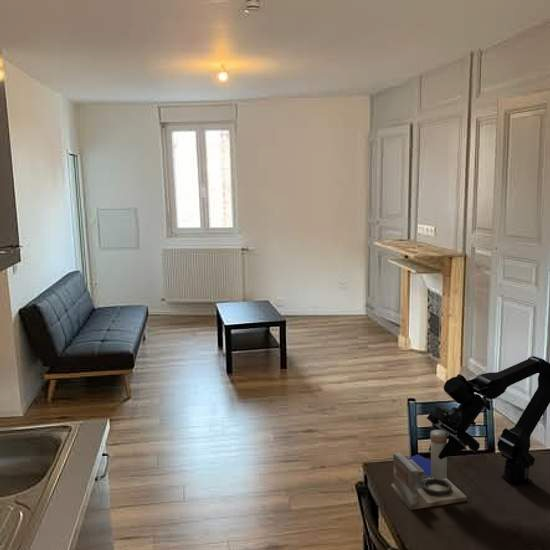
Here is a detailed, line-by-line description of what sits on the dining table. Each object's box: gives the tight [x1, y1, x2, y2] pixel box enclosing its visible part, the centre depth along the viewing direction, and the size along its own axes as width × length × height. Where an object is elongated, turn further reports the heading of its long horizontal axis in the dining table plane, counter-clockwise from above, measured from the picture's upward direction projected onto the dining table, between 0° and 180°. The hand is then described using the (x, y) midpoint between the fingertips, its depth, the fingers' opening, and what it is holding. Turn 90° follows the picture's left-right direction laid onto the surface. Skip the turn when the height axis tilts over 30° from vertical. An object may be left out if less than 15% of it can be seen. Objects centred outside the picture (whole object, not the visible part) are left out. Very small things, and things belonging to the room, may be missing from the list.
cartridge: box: [429, 429, 448, 479], centre depth 164 cm, size 5×5×13 cm
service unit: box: [391, 452, 468, 511], centre depth 167 cm, size 18×13×11 cm
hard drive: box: [406, 454, 433, 478], centre depth 184 cm, size 2×8×12 cm
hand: (434, 454), depth 164 cm, fingers closed on cartridge, 4 cm apart
